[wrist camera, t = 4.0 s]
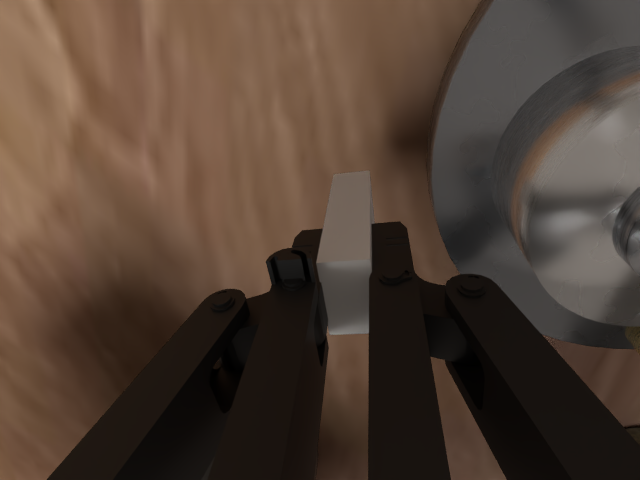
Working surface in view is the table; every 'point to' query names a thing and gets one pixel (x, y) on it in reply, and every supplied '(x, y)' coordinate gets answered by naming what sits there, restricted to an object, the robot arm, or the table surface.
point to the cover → (578, 186)
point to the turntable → (490, 123)
